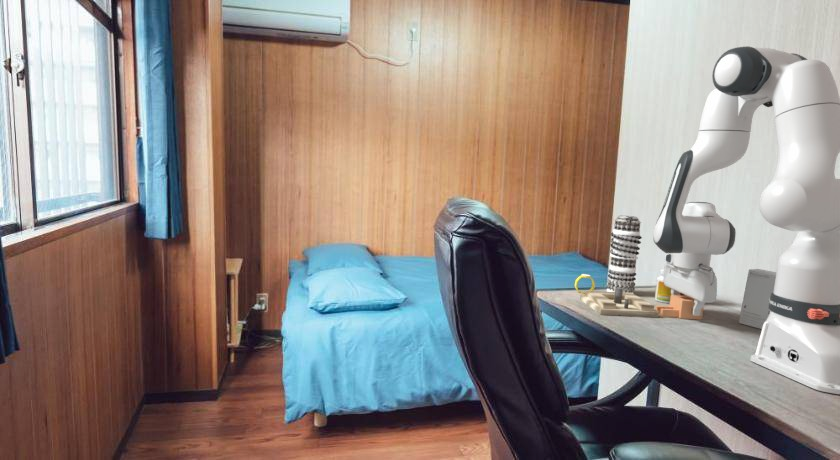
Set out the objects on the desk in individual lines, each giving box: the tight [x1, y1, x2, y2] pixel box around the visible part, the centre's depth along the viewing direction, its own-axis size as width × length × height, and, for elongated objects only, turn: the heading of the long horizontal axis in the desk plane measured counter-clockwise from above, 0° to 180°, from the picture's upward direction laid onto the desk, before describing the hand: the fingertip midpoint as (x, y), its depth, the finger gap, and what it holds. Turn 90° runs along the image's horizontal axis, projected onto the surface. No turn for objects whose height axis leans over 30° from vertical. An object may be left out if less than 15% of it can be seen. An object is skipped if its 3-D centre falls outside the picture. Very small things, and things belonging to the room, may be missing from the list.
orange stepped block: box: [654, 295, 705, 321], centre depth 138 cm, size 10×6×5 cm, turn 92°
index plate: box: [579, 288, 660, 318], centre depth 143 cm, size 16×16×6 cm
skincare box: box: [738, 268, 777, 330], centre depth 131 cm, size 8×6×15 cm
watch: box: [574, 273, 596, 294], centre depth 159 cm, size 6×3×6 cm, turn 90°
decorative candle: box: [605, 215, 643, 295], centre depth 162 cm, size 9×9×25 cm
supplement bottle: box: [654, 268, 672, 304], centre depth 154 cm, size 5×5×10 cm
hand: (685, 310), depth 138 cm, fingers open, 8 cm apart
